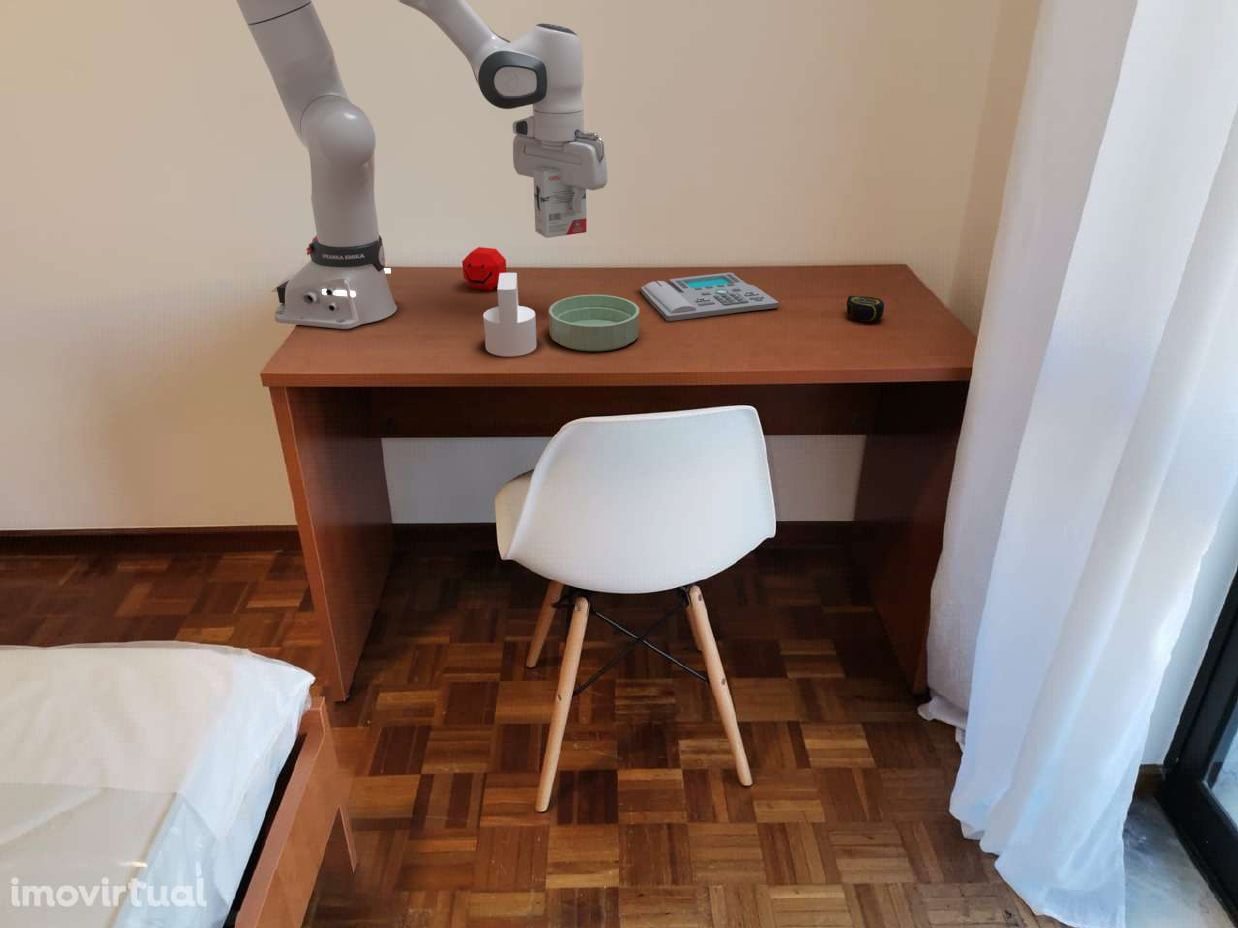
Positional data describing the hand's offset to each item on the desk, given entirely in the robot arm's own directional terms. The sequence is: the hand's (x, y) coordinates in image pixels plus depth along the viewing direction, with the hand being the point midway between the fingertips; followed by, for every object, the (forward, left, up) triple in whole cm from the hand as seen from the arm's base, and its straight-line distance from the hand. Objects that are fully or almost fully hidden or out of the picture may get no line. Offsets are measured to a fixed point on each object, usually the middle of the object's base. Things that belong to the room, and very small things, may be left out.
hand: (560, 207), depth 165 cm
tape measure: (+58, 0, -21) cm, 61 cm away
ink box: (0, 0, -5) cm, 5 cm away
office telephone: (+28, +9, -20) cm, 36 cm away
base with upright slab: (-8, -17, -20) cm, 28 cm away
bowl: (+7, -12, -20) cm, 24 cm away
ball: (-17, +14, -21) cm, 30 cm away
